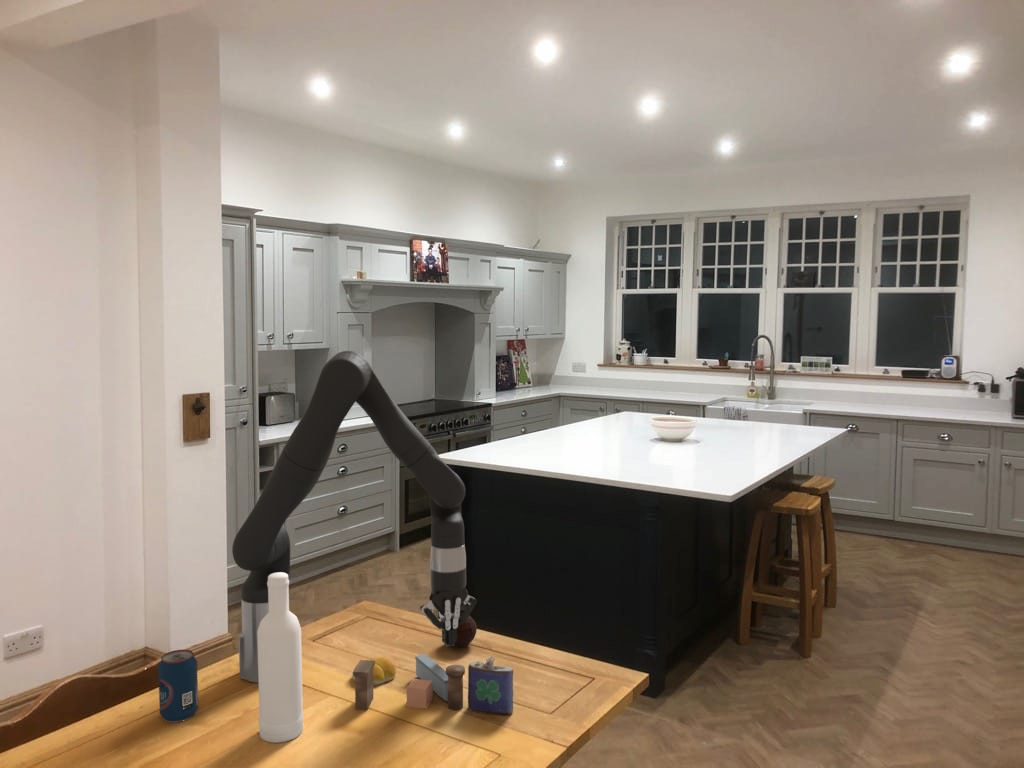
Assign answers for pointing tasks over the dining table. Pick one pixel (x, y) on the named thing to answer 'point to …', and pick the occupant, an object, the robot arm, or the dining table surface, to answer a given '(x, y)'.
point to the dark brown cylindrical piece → (455, 686)
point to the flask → (490, 688)
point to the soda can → (178, 685)
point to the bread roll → (382, 671)
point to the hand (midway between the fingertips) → (449, 644)
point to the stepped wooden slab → (363, 684)
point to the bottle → (279, 666)
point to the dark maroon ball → (466, 632)
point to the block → (419, 693)
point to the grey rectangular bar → (432, 675)
